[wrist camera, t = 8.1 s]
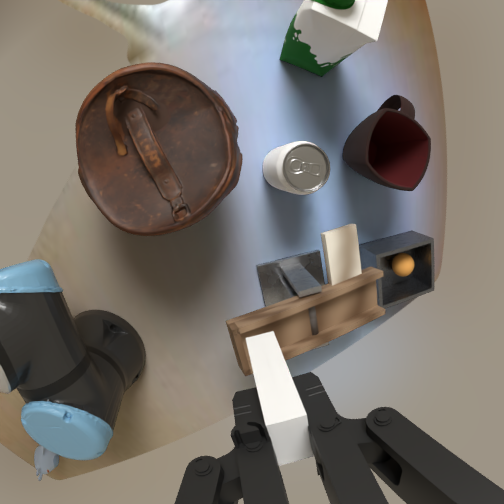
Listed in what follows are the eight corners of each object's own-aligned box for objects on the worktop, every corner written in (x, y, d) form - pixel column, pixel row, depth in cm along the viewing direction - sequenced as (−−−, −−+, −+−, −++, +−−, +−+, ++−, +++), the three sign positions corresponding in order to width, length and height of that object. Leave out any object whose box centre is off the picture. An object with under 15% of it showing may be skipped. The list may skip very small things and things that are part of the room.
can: (265, 142, 45) (284, 134, 34) (307, 151, 46) (338, 146, 35) (258, 185, 46) (274, 190, 35) (300, 193, 48) (328, 200, 36)
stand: (270, 326, 52) (284, 363, 42) (256, 265, 49) (269, 291, 39) (326, 310, 53) (352, 343, 42) (318, 249, 50) (345, 271, 39)
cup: (322, 167, 47) (356, 167, 35) (351, 90, 44) (389, 72, 33) (374, 193, 49) (416, 201, 37) (400, 120, 46) (444, 112, 35)
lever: (238, 365, 40) (245, 376, 37) (210, 267, 36) (216, 273, 34) (373, 307, 46) (385, 313, 43) (365, 219, 42) (378, 221, 40)
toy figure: (66, 459, 56) (54, 493, 45) (45, 451, 55) (31, 484, 43) (61, 434, 54) (45, 470, 42) (38, 425, 53) (20, 460, 41)
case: (137, 73, 40) (100, 29, 23) (257, 126, 44) (284, 105, 27) (86, 180, 43) (26, 191, 26) (202, 234, 48) (198, 274, 30)
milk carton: (288, 19, 40) (330, -48, 21) (340, 42, 42) (403, -10, 23) (271, 62, 42) (310, 2, 23) (326, 84, 44) (391, 43, 24)
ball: (402, 282, 48) (419, 275, 49) (401, 259, 47) (418, 252, 48) (388, 276, 52) (404, 269, 53) (386, 254, 51) (403, 248, 52)
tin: (362, 295, 53) (379, 310, 47) (357, 245, 51) (375, 255, 45) (414, 278, 54) (434, 290, 48) (411, 230, 52) (433, 238, 45)
